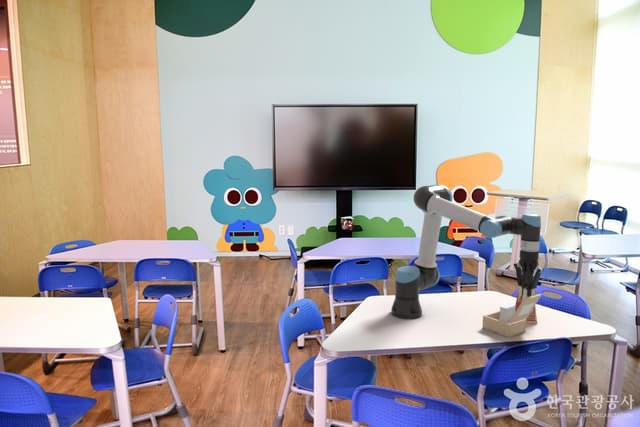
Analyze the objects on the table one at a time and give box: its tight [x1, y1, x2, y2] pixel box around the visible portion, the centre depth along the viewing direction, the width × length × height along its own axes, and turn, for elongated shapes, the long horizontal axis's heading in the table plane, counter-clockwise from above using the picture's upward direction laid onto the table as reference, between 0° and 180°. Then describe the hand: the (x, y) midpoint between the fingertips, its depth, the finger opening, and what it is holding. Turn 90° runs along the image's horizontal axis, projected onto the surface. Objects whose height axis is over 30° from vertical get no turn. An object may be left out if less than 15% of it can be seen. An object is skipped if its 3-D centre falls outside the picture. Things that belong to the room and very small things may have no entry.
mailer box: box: [481, 303, 527, 339], centre depth 221 cm, size 14×12×12 cm
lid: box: [509, 293, 542, 324], centre depth 211 cm, size 14×12×1 cm
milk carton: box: [514, 286, 538, 324], centre depth 235 cm, size 9×9×20 cm
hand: (525, 303), depth 211 cm, fingers closed
